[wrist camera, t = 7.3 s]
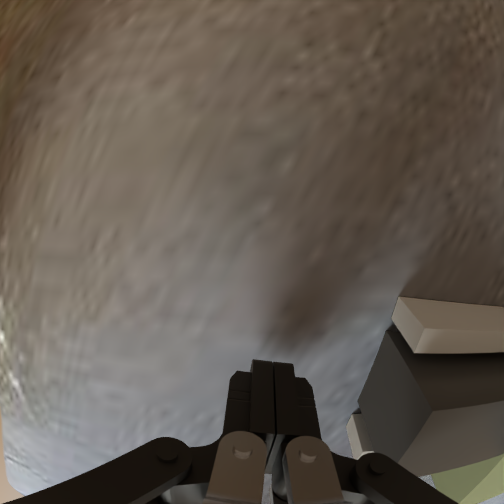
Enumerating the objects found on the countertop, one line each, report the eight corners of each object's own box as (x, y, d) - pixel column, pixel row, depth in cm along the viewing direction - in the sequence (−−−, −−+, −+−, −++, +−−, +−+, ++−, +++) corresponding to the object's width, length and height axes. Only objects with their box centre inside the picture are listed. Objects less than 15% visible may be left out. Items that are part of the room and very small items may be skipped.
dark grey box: (495, 334, 12) (549, 389, 7) (464, 394, 13) (502, 454, 9) (385, 329, 12) (432, 411, 7) (357, 399, 13) (382, 482, 9)
